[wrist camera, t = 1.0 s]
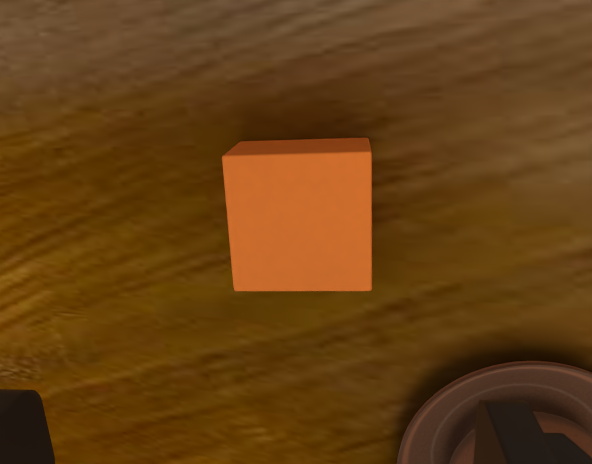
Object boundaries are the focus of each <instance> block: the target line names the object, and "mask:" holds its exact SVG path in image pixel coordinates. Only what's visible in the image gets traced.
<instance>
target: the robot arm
mask: <svg viewBox="0 0 592 464" xmlns="http://www.w3.org/2000/svg"><path fill="white" fill-rule="evenodd" d="M0 464H55V458H54V453H53V448H52V444H51V439H50V435H49V430H48V426H47V422H46V417H45V413H44V408H43V404H42V400H41V397H40V395H39V394H38V393H37V392H36V391H34V390H7V389H0ZM473 464H592V458H591V456H590V455H588V454H587V453H586V452H585V451H584V450H583V449H581V448H580V447H579V446H578V445H577V444H576V443H574V442H573V441H572V440H571V439H570V438H569V437H567V436H566V435H565V434H564V433H544V432H543V430H542V428H541V426H540V425H539V423H538V421H537V419H536V417H535V415H534V413H533V411H532V409H531V407H530V405H529V404H528V402H526V401H516V400H480V401H479V403H478V407H477V418H476V432H475V447H474V461H473Z"/></svg>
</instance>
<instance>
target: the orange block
mask: <svg viewBox="0 0 592 464" xmlns="http://www.w3.org/2000/svg"><path fill="white" fill-rule="evenodd" d="M222 163H223V174H224V186H225V197H226V208H227V219H228V231H229V242H230V253H231V264H232V276H233V287H234V291H371V290H372V152H371V147H370V143H369V139H368V138H367V137H365V138H333V139H301V140H269V141H241V142H239V143H238V144H237V145H235V146H234V147H233V148H232V149H230V150H229V151H228V152H227V153H225V154H224V155H223V156H222Z"/></svg>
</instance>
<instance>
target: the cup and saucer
mask: <svg viewBox="0 0 592 464" xmlns="http://www.w3.org/2000/svg"><path fill="white" fill-rule="evenodd" d="M480 400H516V401H526V402H528V404H529V405H530V407H531V409H532V411H533V413H534V415H535V417H536V419H537V421H538V423H539V425H540V426H541V428H542V430H543V432H544V433H564V434H565V435H566V436H567V437H569V438H570V439H571V440H572V441H573V442H574V443H576V444H577V445H578V446H579V447H580V448H581V449H583V450H584V451H585V452H586V453H587V454H588V455H590V456H591V458H592V373H591V372H589V371H586V370H583V369H581V368H578V367H574V366H570V365H566V364H561V363H554V362H546V361H518V362H508V363H503V364H498V365H493V366H490V367H486V368H482V369H480V370H477V371H474V372H471V373H469V374H467V375H465V376H462V377H460V378H458V379H456V380H455V381H453V382H451V383H450V384H448V385H446V386H445V387H443V388H442V389H441V390H439V391H438V392H437V393H435V394H434V395H433V396H432V397H431V398H430V399H428V401H427V402H426V403H425V404H424V405H423V406H422V407H421V408H420V409H419V410H418V412H417V413H416V414H415V416H414V417H413V419H412V420H411V422H410V423H409V425H408V427H407V429H406V431H405V433H404V435H403V438H402V441H401V444H400V448H399V453H398V457H397V464H473V461H474V447H475V432H476V418H477V407H478V403H479V401H480Z"/></svg>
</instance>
